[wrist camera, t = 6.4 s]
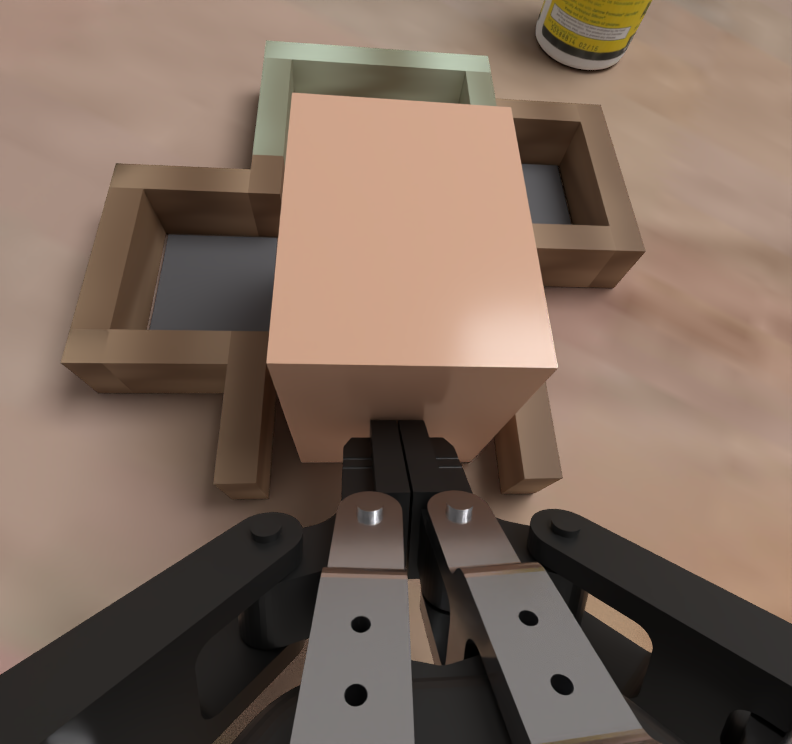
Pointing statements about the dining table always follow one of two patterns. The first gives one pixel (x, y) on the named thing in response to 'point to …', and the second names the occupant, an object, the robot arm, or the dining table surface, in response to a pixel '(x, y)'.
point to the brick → (404, 274)
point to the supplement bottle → (589, 30)
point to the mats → (272, 268)
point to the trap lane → (260, 216)
